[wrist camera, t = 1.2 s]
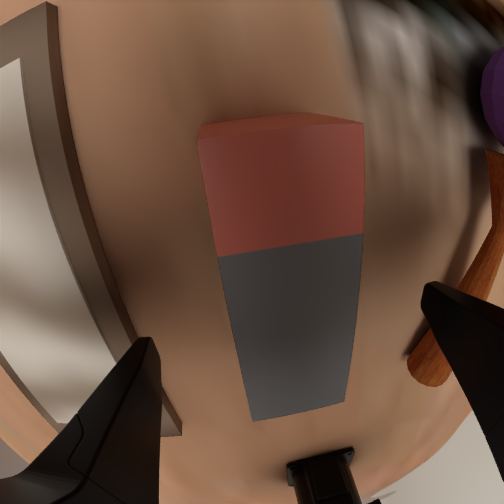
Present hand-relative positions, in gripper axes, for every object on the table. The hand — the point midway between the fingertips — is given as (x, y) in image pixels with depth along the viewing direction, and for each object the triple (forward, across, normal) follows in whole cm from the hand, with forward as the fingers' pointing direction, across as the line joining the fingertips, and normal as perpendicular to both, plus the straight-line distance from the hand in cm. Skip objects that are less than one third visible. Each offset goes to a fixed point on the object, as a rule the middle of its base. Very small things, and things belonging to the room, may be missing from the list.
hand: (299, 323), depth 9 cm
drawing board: (+5, +12, 0) cm, 13 cm away
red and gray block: (+5, 0, 0) cm, 5 cm away
